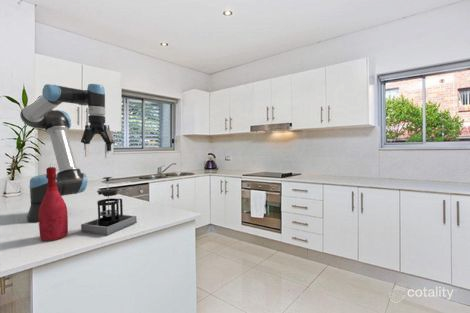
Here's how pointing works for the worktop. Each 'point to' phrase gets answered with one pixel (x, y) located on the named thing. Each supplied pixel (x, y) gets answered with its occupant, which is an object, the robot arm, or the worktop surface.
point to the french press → (109, 219)
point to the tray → (101, 230)
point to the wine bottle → (52, 211)
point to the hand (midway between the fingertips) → (97, 157)
